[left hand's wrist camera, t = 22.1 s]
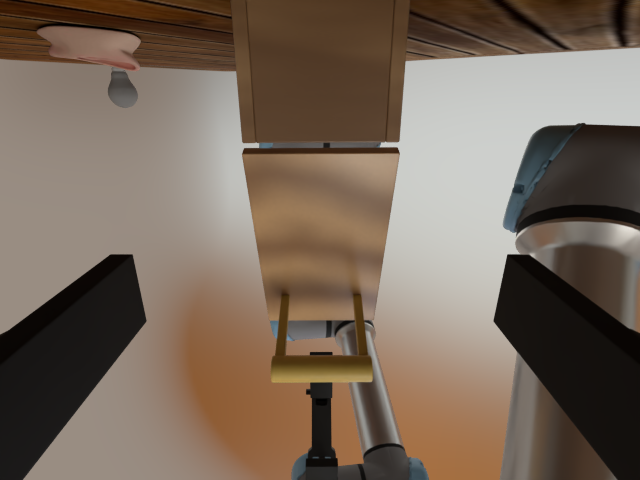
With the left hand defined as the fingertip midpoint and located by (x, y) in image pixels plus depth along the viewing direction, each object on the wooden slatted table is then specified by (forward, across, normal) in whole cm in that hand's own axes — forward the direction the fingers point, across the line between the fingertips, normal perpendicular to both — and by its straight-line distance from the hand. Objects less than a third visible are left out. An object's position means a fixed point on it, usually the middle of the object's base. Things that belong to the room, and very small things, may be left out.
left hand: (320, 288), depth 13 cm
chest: (+19, 0, -14) cm, 24 cm away
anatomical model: (+42, +30, -14) cm, 54 cm away
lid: (+14, 0, +4) cm, 15 cm away
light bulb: (+78, +45, -15) cm, 91 cm away
